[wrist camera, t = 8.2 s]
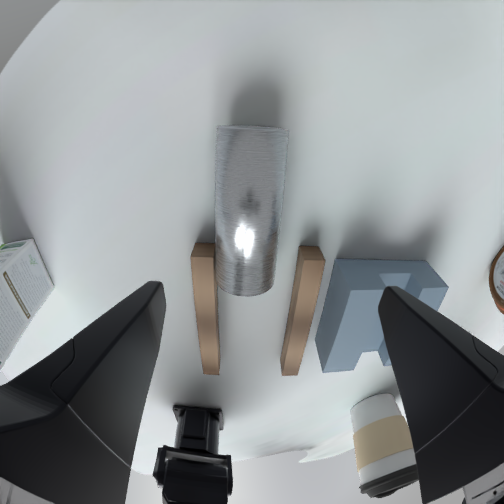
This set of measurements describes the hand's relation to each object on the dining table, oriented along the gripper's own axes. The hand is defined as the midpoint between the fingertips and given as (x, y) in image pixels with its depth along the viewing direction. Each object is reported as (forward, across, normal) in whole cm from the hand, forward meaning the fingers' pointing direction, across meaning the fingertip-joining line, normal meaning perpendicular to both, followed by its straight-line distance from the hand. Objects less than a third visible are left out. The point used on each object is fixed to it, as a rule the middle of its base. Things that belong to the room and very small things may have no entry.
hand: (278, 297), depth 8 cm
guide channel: (+11, 0, +10) cm, 15 cm away
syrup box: (+11, +22, +7) cm, 26 cm away
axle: (+9, +1, +1) cm, 9 cm away
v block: (+11, -10, +10) cm, 18 cm away
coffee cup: (+11, -18, +30) cm, 37 cm away
